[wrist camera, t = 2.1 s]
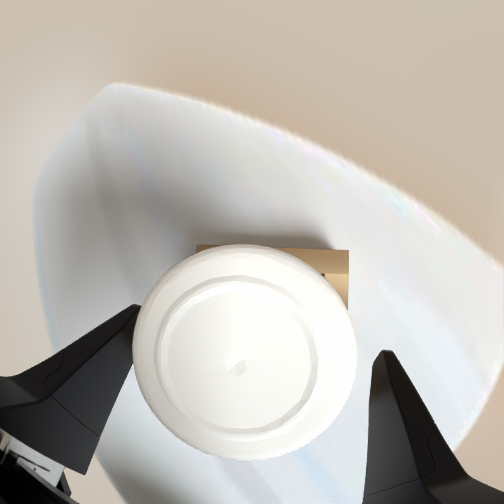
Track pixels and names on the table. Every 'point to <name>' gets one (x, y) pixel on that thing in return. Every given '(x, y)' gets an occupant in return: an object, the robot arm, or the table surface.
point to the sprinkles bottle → (244, 352)
